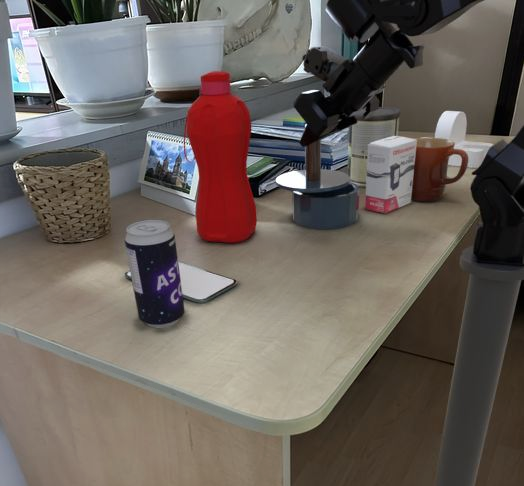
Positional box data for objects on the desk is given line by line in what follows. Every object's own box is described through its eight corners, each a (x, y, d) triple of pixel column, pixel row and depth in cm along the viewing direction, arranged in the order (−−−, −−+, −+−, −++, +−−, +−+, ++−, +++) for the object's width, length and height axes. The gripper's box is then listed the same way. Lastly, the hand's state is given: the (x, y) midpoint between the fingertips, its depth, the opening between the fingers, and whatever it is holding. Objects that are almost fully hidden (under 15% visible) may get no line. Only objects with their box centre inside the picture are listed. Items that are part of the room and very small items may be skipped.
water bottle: (204, 224, 98) (188, 69, 85) (262, 228, 95) (254, 67, 82) (182, 242, 91) (161, 75, 78) (244, 247, 88) (233, 74, 74)
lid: (365, 187, 90) (368, 124, 85) (300, 200, 85) (299, 135, 80) (323, 172, 100) (324, 115, 94) (263, 183, 95) (260, 124, 90)
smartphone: (240, 284, 76) (161, 259, 84) (240, 280, 76) (160, 256, 84) (202, 305, 71) (121, 277, 79) (201, 302, 70) (120, 273, 79)
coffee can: (338, 178, 120) (340, 109, 113) (378, 172, 123) (383, 105, 116) (361, 190, 112) (364, 116, 105) (404, 183, 115) (410, 111, 108)
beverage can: (165, 335, 64) (149, 238, 58) (130, 324, 67) (111, 231, 61) (194, 315, 69) (183, 222, 62) (160, 305, 71) (146, 216, 65)
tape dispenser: (420, 151, 139) (425, 106, 133) (491, 159, 129) (500, 110, 123) (403, 159, 133) (407, 112, 127) (476, 168, 123) (485, 117, 117)
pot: (362, 210, 101) (364, 180, 98) (350, 231, 92) (352, 199, 89) (302, 206, 104) (302, 178, 102) (285, 226, 95) (284, 195, 92)
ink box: (385, 214, 98) (390, 146, 92) (363, 209, 101) (366, 143, 95) (411, 203, 103) (418, 137, 97) (389, 198, 106) (394, 134, 100)
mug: (392, 199, 106) (396, 144, 100) (415, 188, 111) (420, 135, 106) (449, 210, 99) (457, 151, 93) (471, 198, 104) (480, 142, 99)
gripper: (365, 21, 84) (304, 96, 96) (304, 26, 72) (242, 113, 83) (409, 78, 85) (343, 146, 96) (356, 93, 72) (287, 171, 83)
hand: (306, 143), depth 90 cm, fingers closed on lid, 3 cm apart
